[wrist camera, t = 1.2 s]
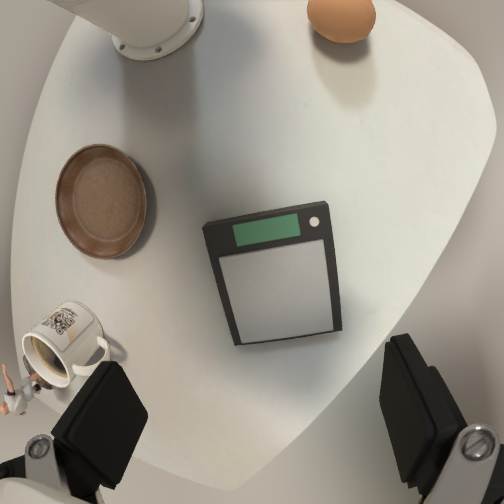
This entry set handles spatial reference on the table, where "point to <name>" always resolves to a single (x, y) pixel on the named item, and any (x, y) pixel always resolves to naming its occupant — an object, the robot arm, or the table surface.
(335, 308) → the scale
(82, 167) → the saucer
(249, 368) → the table surface
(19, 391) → the figurine
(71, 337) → the mug
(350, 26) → the egg
